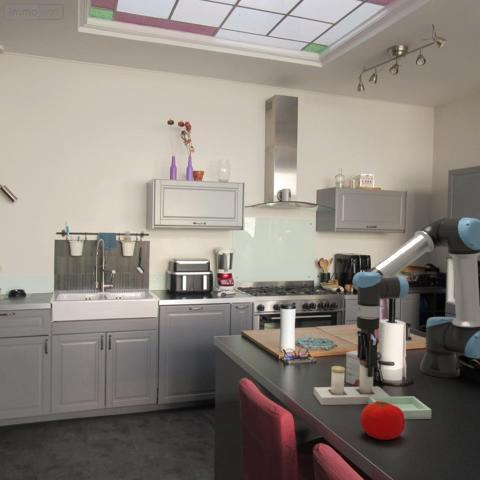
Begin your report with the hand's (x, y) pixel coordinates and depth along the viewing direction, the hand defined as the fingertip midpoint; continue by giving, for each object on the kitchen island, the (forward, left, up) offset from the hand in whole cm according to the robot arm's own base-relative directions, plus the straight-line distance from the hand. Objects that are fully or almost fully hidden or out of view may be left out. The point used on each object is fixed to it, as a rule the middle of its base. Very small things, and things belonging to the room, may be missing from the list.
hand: (366, 382), depth 173 cm
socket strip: (+5, 0, -6) cm, 8 cm away
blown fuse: (0, 0, -3) cm, 3 cm away
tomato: (+6, +29, -6) cm, 31 cm away
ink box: (-3, -15, -6) cm, 16 cm away
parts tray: (-7, +12, -6) cm, 15 cm away
